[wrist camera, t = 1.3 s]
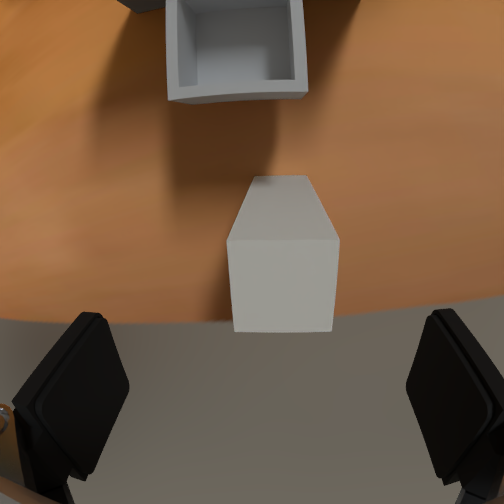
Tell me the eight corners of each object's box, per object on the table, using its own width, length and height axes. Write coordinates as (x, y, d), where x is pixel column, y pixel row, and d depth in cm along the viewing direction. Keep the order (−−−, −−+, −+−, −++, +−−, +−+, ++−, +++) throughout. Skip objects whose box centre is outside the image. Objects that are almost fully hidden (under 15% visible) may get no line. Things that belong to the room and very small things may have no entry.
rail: (306, 175, 24) (339, 239, 11) (306, 224, 25) (331, 331, 13) (254, 176, 24) (226, 240, 11) (256, 225, 26) (234, 331, 13)
